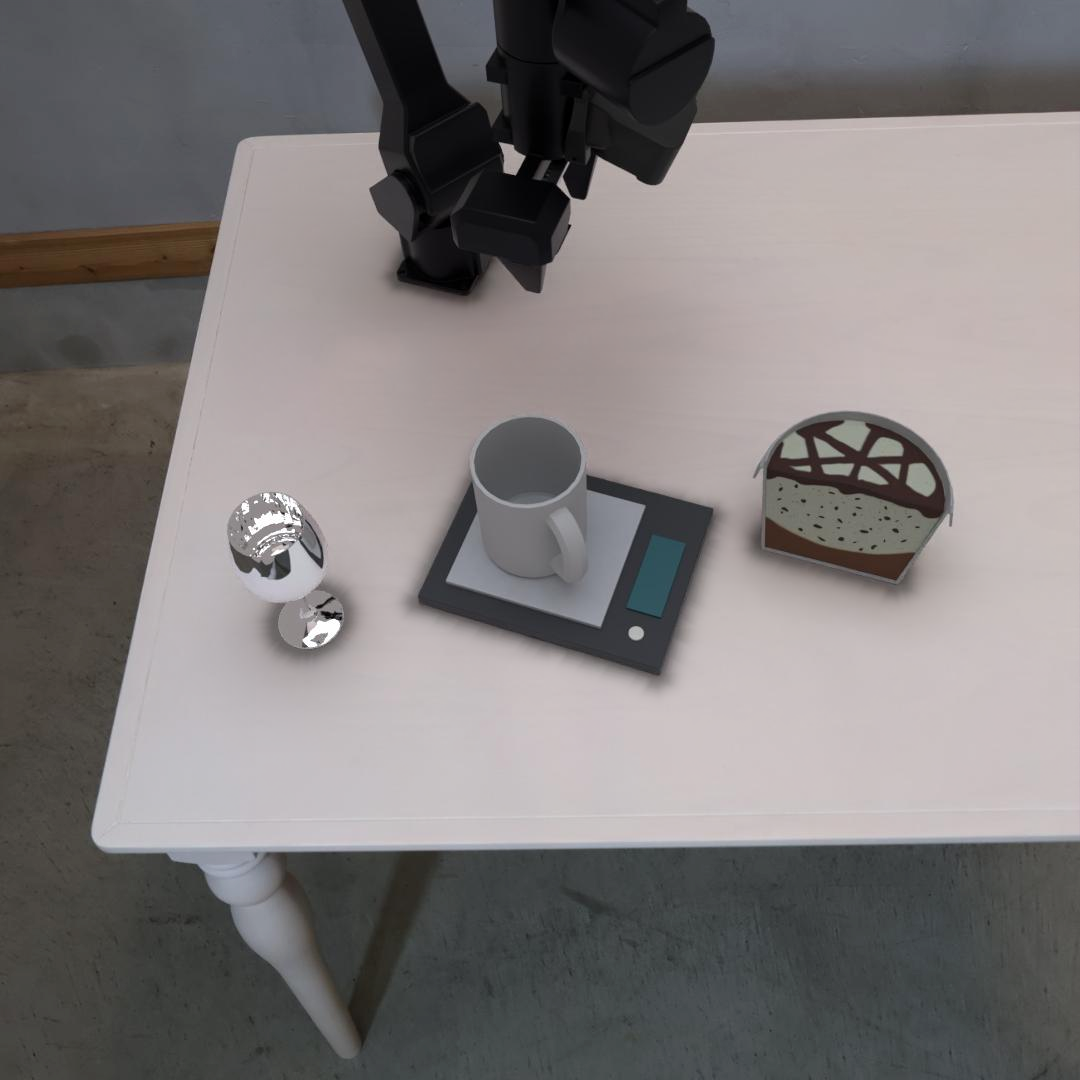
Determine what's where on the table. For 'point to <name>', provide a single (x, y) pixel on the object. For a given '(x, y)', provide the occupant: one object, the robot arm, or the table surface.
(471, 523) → the scale
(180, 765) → the table surface
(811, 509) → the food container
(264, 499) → the wineglass
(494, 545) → the cup
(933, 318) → the table surface
